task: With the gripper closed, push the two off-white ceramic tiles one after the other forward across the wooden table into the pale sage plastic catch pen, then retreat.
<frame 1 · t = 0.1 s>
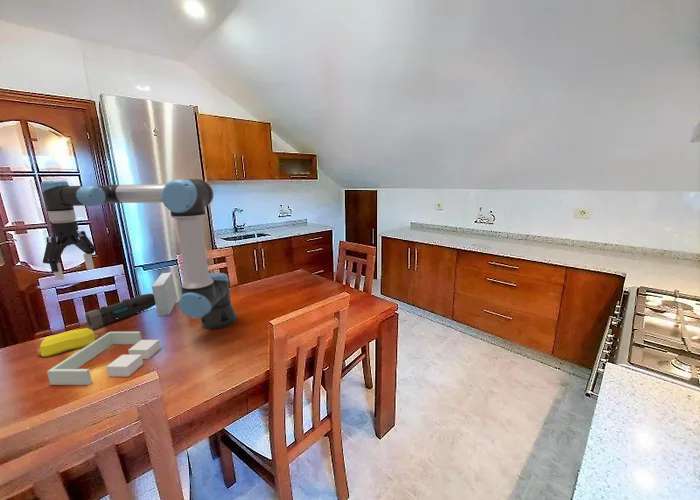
hand: (76, 273, 120), 28 cm above the table, fingers open, 13 cm apart
tile b: (126, 370, 104), on the table
yellow bevelled bar: (70, 348, 118), on the table
catch pen: (102, 361, 109), on the table
tile a: (145, 354, 114), on the table
black handheld tool: (127, 316, 146), on the table
skincare box: (167, 307, 155), on the table
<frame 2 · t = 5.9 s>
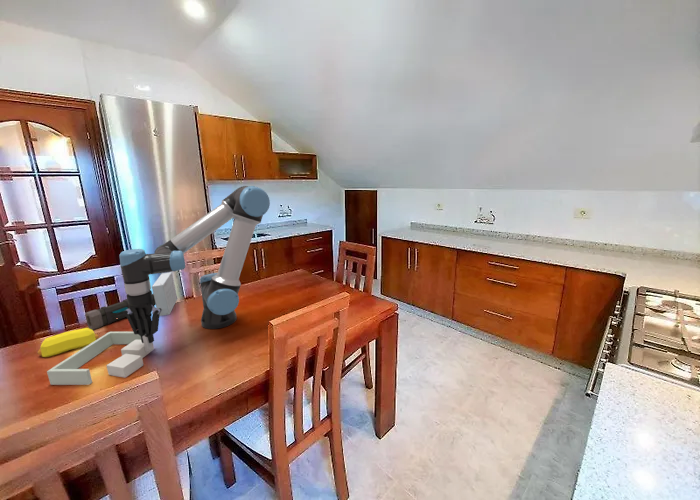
hand: (149, 350, 113), 2 cm above the table, fingers closed
tile a: (138, 354, 114), on the table
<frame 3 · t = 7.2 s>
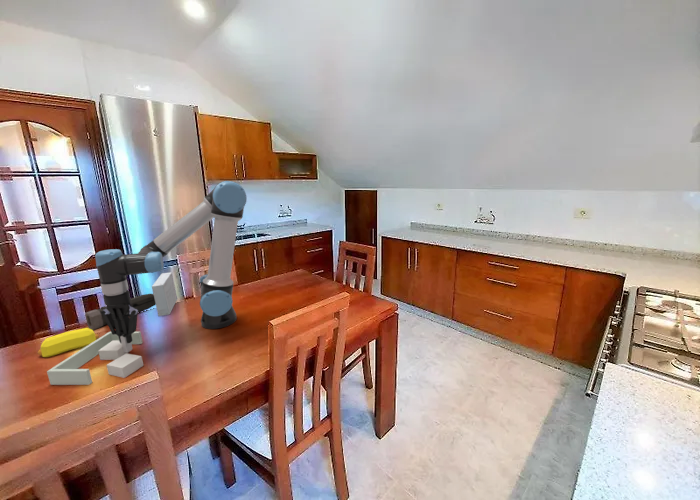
hand: (127, 350, 114), 2 cm above the table, fingers closed
tile a: (116, 354, 114), on the table
everything else where it was.
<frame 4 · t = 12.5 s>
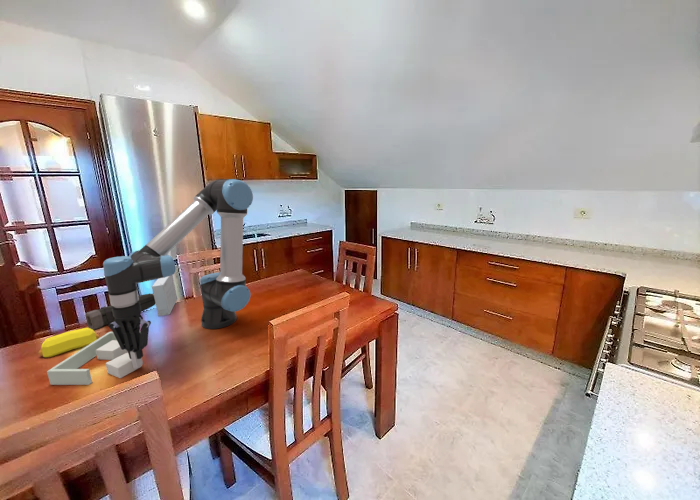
hand: (138, 366, 104), 1 cm above the table, fingers closed
tile b: (125, 370, 104), on the table, touching gripper
tile a: (114, 354, 114), on the table
everything else where it was.
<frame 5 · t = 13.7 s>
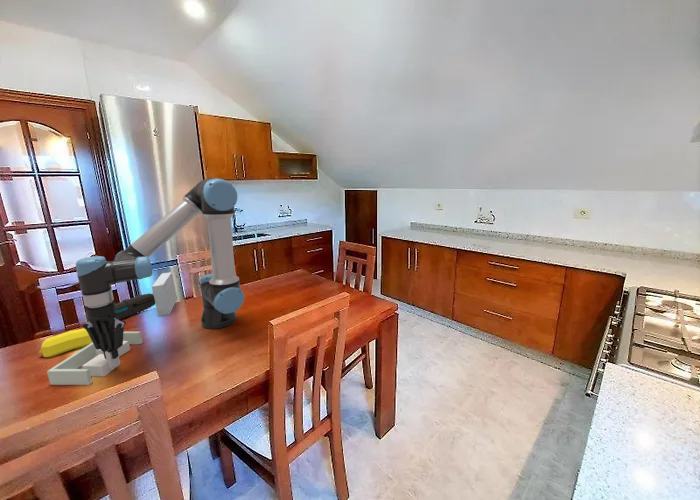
hand: (113, 366, 104), 2 cm above the table, fingers closed
tile b: (102, 370, 104), on the table
everything else where it was.
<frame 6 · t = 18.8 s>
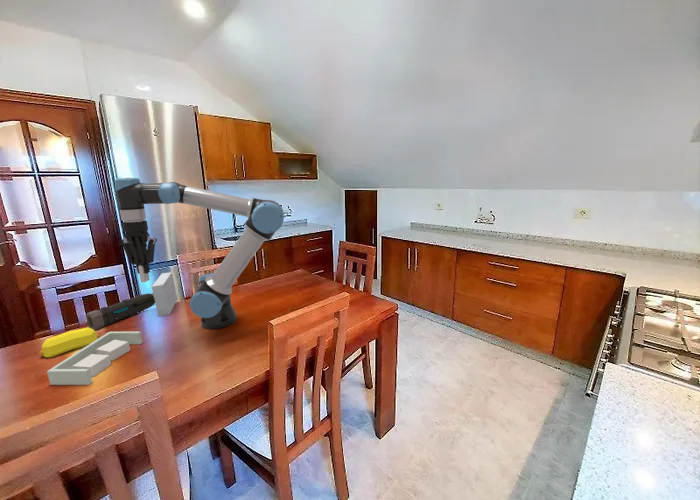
hand: (145, 281, 116), 26 cm above the table, fingers closed
tile b: (93, 370, 105), on the table
everything else where it was.
at the end: tile a inside the target area on the catch pen (4.6 cm from its centre), point 0.0 cm above the catch pen's base; tile b inside the target area on the catch pen (4.9 cm from its centre), point 0.0 cm above the catch pen's base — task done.
